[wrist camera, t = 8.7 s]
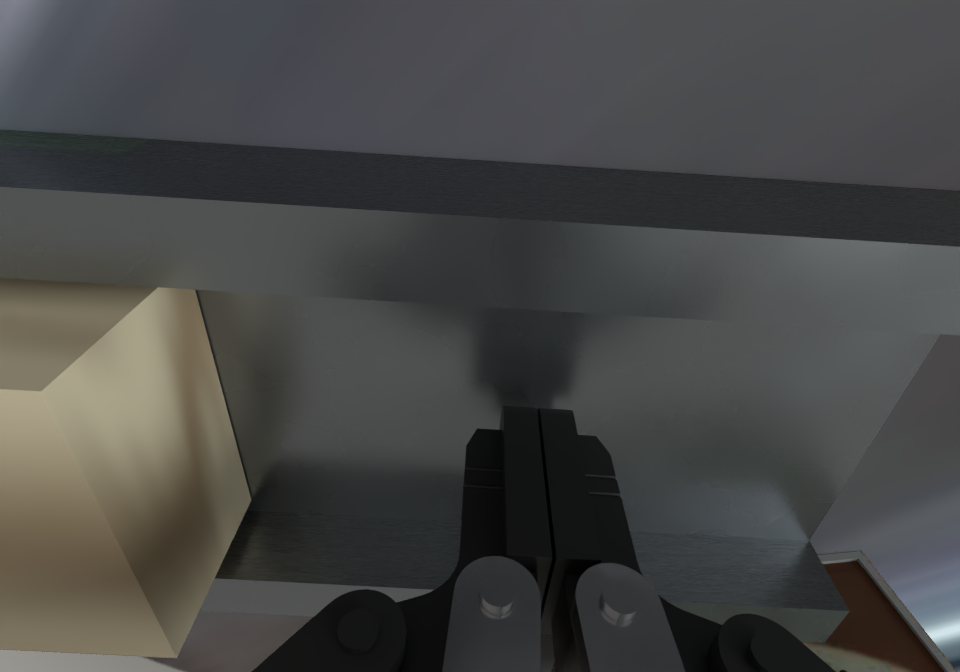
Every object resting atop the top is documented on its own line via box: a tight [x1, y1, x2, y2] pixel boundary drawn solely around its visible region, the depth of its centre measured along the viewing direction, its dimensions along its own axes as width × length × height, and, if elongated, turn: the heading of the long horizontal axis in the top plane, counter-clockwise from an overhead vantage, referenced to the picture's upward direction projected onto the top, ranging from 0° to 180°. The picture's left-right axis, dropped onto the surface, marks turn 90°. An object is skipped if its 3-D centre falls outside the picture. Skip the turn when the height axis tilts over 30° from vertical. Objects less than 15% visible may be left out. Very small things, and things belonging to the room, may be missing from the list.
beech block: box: [0, 278, 251, 658], centre depth 11 cm, size 7×6×4 cm
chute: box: [0, 130, 960, 643], centre depth 11 cm, size 11×24×4 cm, turn 87°
